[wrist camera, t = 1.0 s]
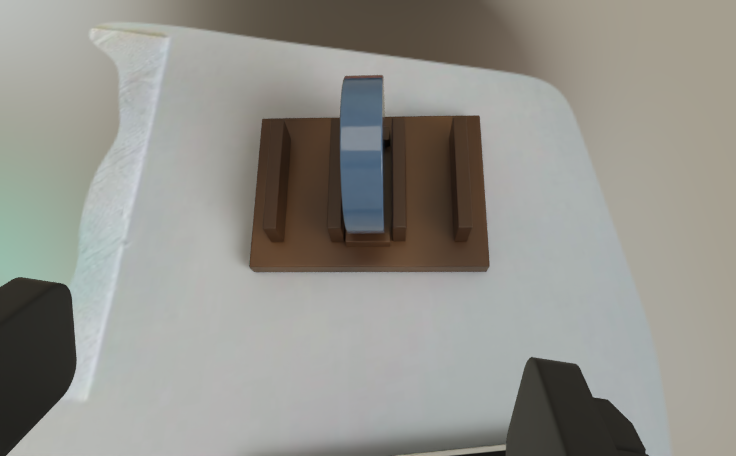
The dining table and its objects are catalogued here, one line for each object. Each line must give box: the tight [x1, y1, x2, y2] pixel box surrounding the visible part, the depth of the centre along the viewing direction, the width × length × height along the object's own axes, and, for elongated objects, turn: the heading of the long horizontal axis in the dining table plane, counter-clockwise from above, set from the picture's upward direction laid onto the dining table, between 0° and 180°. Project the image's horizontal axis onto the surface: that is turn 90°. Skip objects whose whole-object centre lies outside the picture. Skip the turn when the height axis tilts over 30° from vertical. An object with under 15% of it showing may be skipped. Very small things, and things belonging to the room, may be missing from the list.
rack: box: [249, 116, 489, 272], centre depth 33 cm, size 14×10×4 cm
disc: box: [340, 75, 385, 234], centre depth 30 cm, size 2×8×8 cm, turn 0°
